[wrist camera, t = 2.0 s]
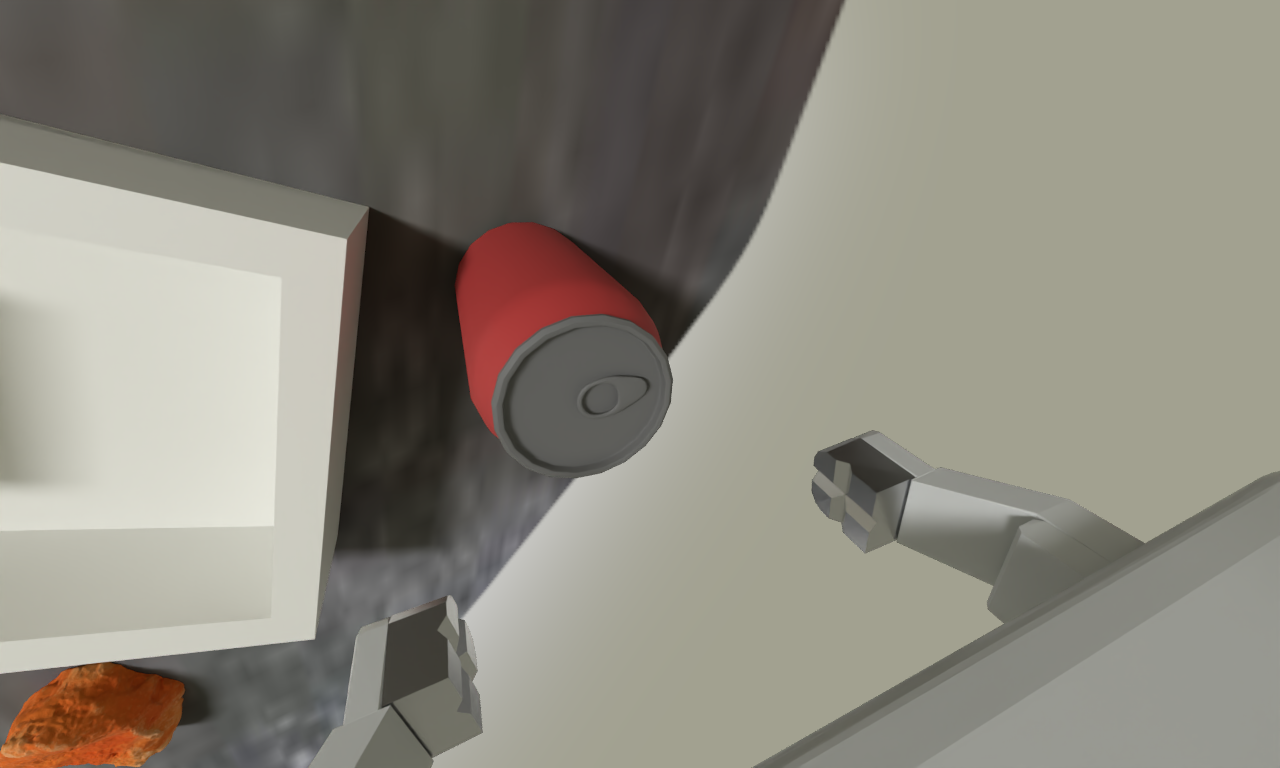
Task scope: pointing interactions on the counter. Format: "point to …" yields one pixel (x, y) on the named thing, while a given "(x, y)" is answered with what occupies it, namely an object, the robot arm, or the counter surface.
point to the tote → (166, 401)
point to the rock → (95, 719)
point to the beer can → (558, 353)
